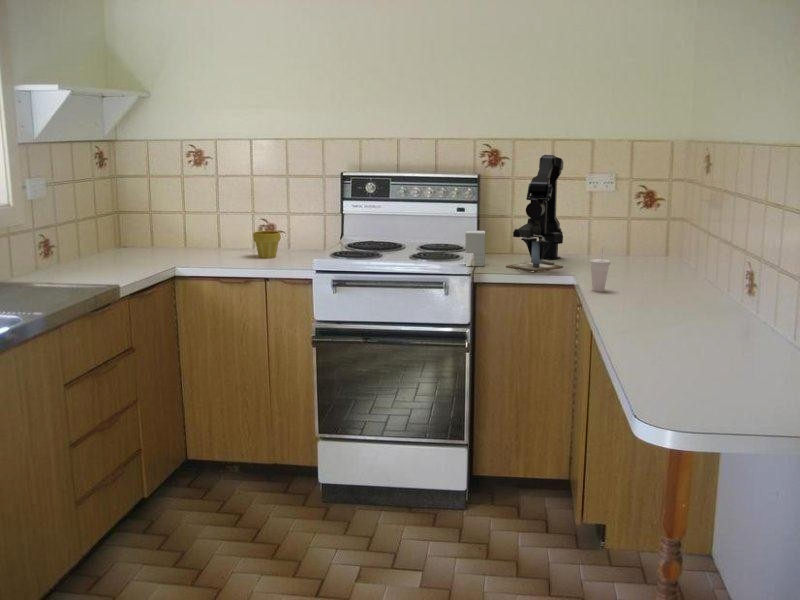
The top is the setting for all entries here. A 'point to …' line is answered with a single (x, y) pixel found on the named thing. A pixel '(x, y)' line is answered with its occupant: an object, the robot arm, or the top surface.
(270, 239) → the plant pot
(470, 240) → the supplement box
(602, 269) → the smoothie
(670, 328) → the top surface
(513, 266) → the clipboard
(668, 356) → the top surface
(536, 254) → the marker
